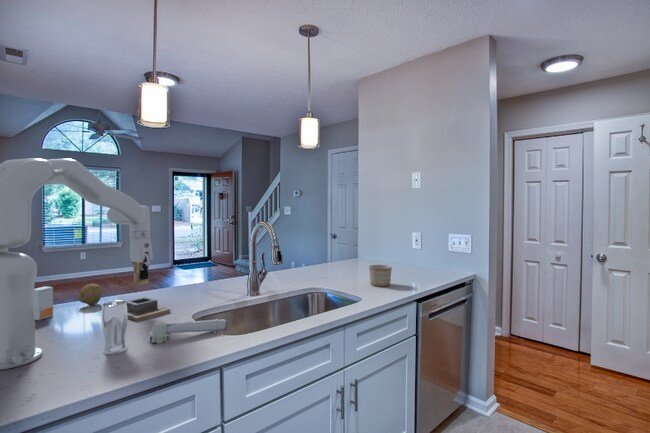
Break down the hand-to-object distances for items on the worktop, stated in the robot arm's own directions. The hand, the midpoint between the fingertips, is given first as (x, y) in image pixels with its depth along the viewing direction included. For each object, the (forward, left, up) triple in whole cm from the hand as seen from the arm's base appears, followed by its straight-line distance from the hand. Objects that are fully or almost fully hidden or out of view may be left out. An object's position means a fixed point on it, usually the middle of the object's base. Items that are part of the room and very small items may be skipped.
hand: (141, 278), depth 144 cm
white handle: (-39, +4, -15) cm, 42 cm away
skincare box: (+26, +26, -15) cm, 40 cm away
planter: (-61, -103, -15) cm, 121 cm away
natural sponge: (+28, +8, -15) cm, 33 cm away
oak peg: (0, 0, -2) cm, 2 cm away
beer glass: (-31, +24, -15) cm, 42 cm away
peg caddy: (0, 0, -15) cm, 15 cm away
